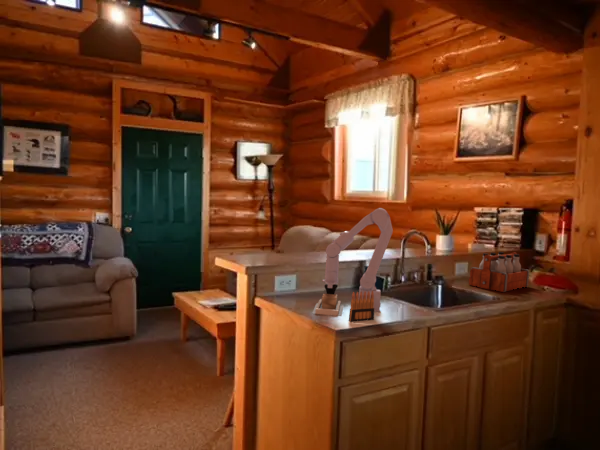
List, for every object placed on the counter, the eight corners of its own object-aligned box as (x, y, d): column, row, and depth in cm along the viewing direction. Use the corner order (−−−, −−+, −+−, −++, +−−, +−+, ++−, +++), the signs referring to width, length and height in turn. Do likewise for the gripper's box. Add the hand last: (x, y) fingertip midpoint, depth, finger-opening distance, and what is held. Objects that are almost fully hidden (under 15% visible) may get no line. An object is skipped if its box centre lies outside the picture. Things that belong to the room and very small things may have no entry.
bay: (343, 306, 210) (343, 301, 210) (341, 317, 192) (341, 311, 192) (316, 304, 211) (316, 298, 211) (311, 314, 194) (312, 308, 194)
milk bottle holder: (465, 285, 273) (468, 252, 272) (496, 280, 296) (499, 249, 294) (501, 293, 257) (504, 258, 256) (530, 287, 280) (533, 254, 278)
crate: (336, 306, 208) (337, 294, 208) (335, 309, 202) (336, 297, 202) (322, 304, 209) (323, 293, 209) (321, 308, 203) (322, 296, 203)
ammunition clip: (351, 322, 185) (352, 292, 184) (348, 321, 187) (350, 291, 186) (374, 320, 190) (376, 291, 189) (371, 319, 191) (373, 290, 190)
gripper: (324, 267, 218) (322, 296, 219) (321, 272, 203) (319, 304, 204) (339, 268, 217) (338, 297, 218) (337, 274, 202) (336, 305, 203)
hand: (330, 301), depth 211 cm, fingers closed
